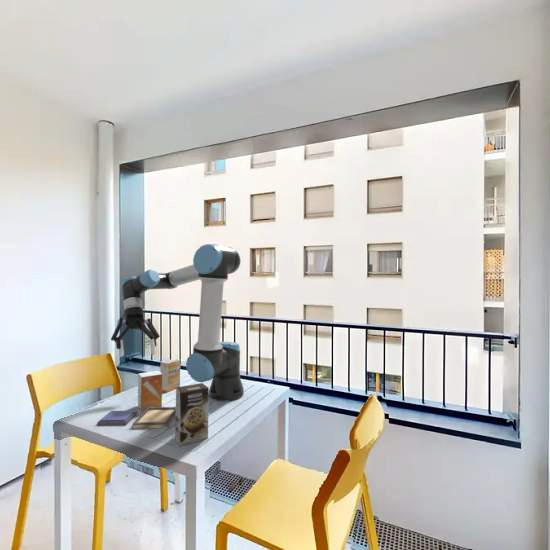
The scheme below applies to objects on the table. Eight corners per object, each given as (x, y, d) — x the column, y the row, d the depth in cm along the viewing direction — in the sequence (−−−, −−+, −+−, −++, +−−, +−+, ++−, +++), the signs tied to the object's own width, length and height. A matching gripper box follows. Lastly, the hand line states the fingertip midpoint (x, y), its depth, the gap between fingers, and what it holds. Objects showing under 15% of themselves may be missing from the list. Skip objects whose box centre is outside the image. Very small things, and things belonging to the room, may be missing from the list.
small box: (140, 411, 121) (140, 377, 122) (137, 405, 127) (137, 373, 127) (162, 406, 126) (162, 373, 126) (158, 401, 131) (158, 370, 131)
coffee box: (180, 446, 96) (180, 392, 96) (174, 437, 101) (175, 386, 101) (209, 438, 100) (209, 387, 101) (202, 430, 106) (202, 382, 106)
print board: (178, 410, 122) (179, 406, 122) (167, 427, 108) (167, 423, 108) (147, 411, 121) (147, 406, 121) (131, 428, 107) (131, 423, 107)
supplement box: (167, 392, 142) (167, 363, 142) (159, 390, 144) (160, 362, 144) (180, 387, 149) (180, 359, 149) (172, 385, 151) (173, 358, 151)
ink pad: (137, 414, 119) (137, 410, 119) (126, 424, 110) (126, 420, 110) (110, 414, 119) (110, 410, 119) (97, 425, 110) (97, 420, 110)
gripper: (156, 313, 154) (161, 355, 146) (100, 311, 136) (103, 360, 128) (163, 306, 150) (169, 350, 141) (107, 304, 132) (110, 354, 123)
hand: (138, 355), depth 134 cm, fingers open, 13 cm apart
